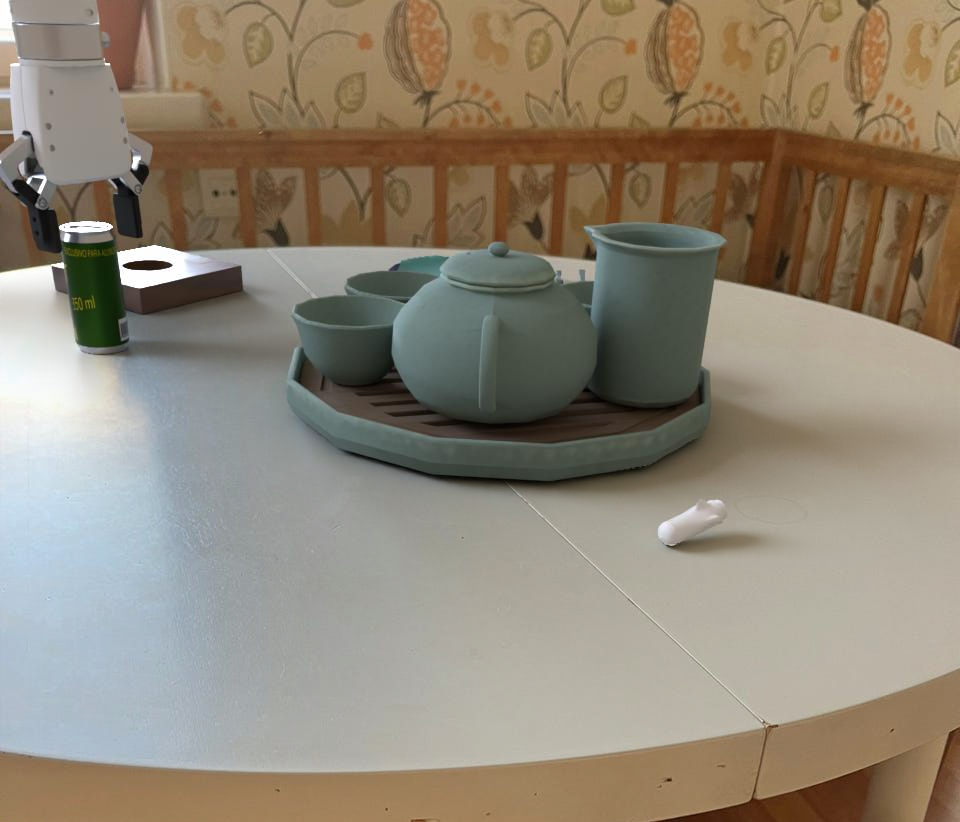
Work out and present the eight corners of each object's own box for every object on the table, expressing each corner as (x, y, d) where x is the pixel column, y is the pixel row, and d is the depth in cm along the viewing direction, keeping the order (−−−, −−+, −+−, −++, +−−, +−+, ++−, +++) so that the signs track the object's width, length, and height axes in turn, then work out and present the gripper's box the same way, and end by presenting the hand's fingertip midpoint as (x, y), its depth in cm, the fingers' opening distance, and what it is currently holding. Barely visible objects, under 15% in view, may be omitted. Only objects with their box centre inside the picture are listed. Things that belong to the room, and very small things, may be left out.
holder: (55, 290, 128) (50, 264, 127) (157, 269, 140) (155, 245, 138) (142, 314, 121) (139, 288, 119) (243, 290, 132) (241, 265, 131)
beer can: (134, 340, 112) (119, 222, 106) (125, 355, 108) (108, 233, 102) (83, 339, 112) (64, 220, 106) (71, 354, 107) (51, 231, 101)
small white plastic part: (640, 529, 78) (645, 490, 76) (717, 528, 79) (724, 490, 77) (652, 551, 75) (658, 511, 73) (732, 550, 76) (740, 510, 74)
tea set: (602, 335, 122) (618, 182, 113) (789, 466, 90) (831, 267, 81) (257, 353, 110) (245, 185, 102) (330, 510, 78) (322, 284, 70)
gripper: (110, 43, 103) (136, 226, 112) (-53, 46, 91) (-9, 252, 100) (162, 47, 100) (184, 236, 109) (0, 51, 87) (40, 263, 96)
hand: (91, 243), depth 104 cm, fingers open, 9 cm apart
